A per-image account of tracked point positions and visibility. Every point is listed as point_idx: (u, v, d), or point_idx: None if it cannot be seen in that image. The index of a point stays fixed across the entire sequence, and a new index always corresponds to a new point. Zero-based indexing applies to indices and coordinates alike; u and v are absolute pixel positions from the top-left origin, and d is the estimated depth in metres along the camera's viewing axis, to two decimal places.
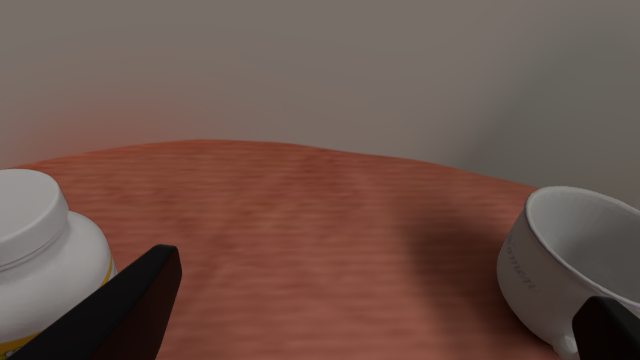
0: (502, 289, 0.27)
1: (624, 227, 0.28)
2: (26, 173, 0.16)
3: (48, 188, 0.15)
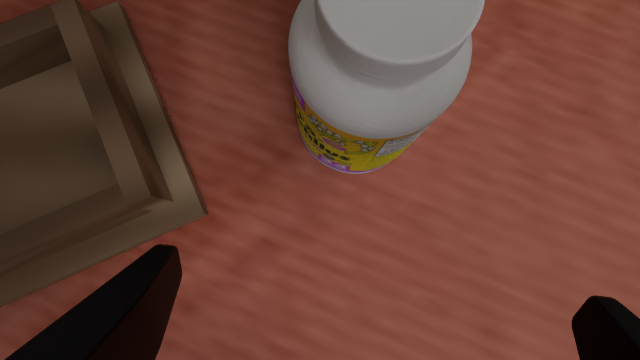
0: None
1: None
2: None
3: None
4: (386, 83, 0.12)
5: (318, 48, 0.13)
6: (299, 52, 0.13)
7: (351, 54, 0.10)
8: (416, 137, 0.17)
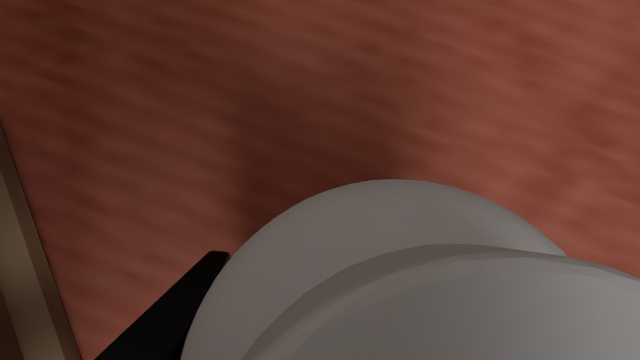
0: None
1: None
2: None
3: None
4: None
5: None
6: None
7: None
8: None
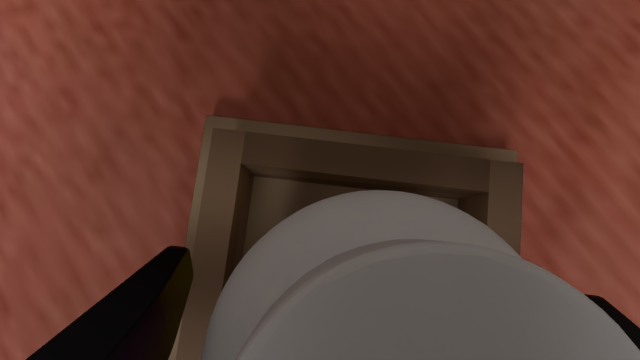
0: None
1: None
2: (561, 310, 0.04)
3: None
4: None
5: None
6: None
7: None
8: None
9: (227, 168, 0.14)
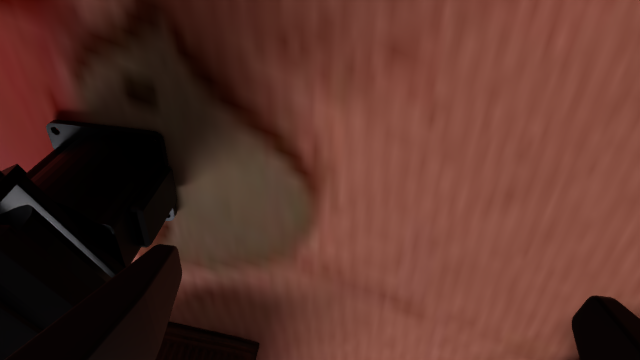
0: None
1: None
2: None
3: None
4: None
5: None
6: None
7: None
8: None
9: None
